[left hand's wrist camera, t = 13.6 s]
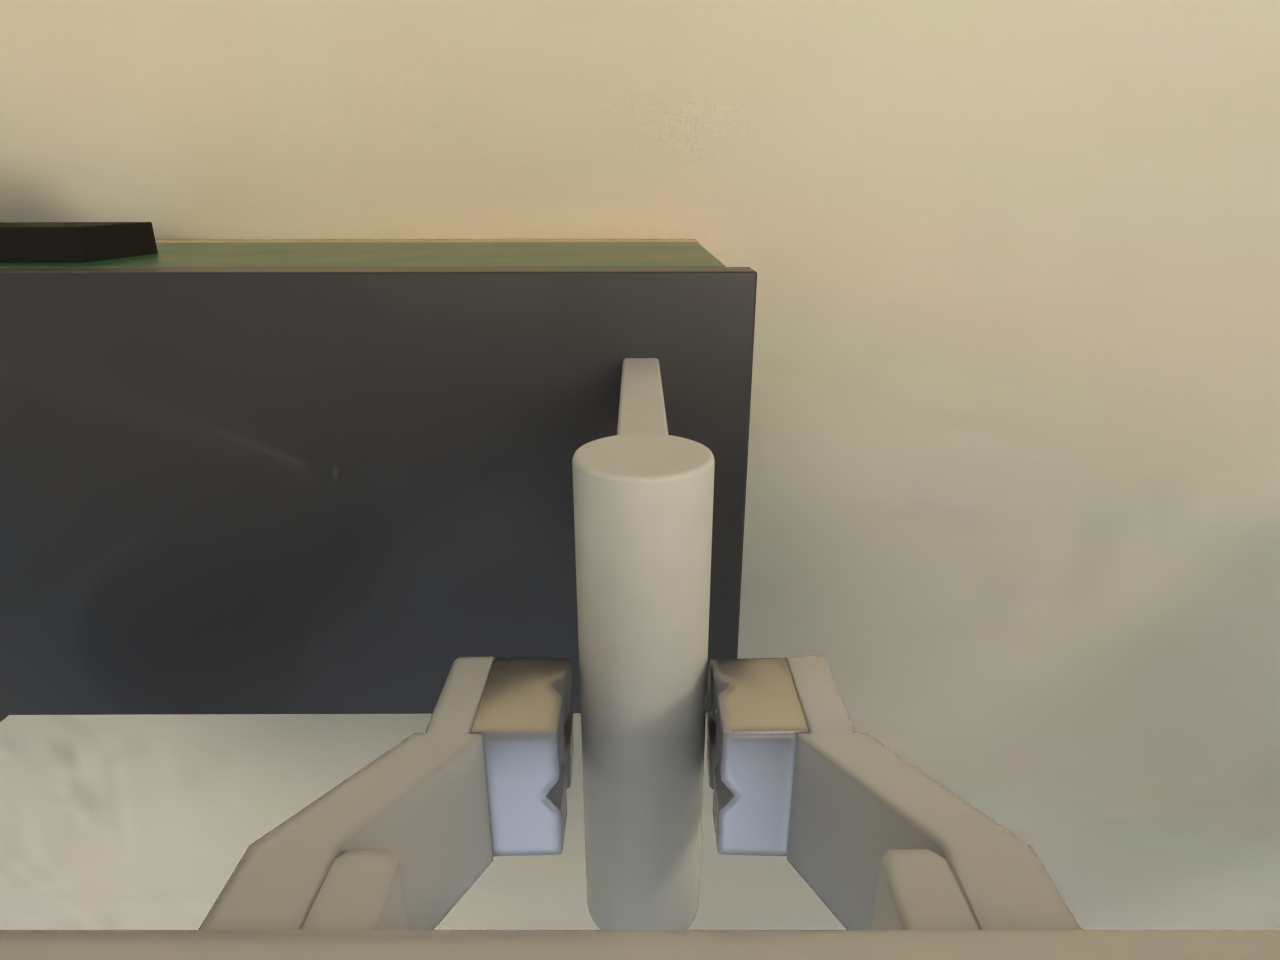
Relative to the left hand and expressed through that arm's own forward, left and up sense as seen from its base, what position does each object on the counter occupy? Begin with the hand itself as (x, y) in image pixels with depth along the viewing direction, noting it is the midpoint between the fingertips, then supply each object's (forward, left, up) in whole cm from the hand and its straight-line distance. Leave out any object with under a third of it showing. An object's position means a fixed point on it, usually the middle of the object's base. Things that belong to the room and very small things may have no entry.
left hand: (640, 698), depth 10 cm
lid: (+3, -6, -7) cm, 10 cm away
